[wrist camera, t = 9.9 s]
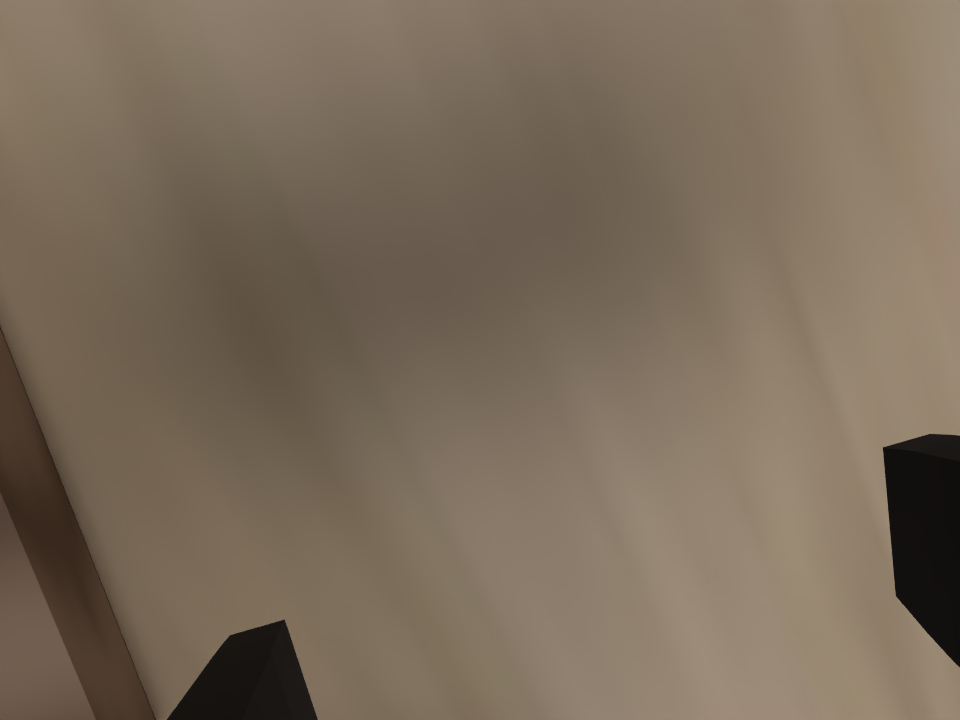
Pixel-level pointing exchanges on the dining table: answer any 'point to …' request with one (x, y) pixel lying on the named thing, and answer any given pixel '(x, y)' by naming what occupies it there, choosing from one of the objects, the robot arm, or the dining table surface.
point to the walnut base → (51, 589)
